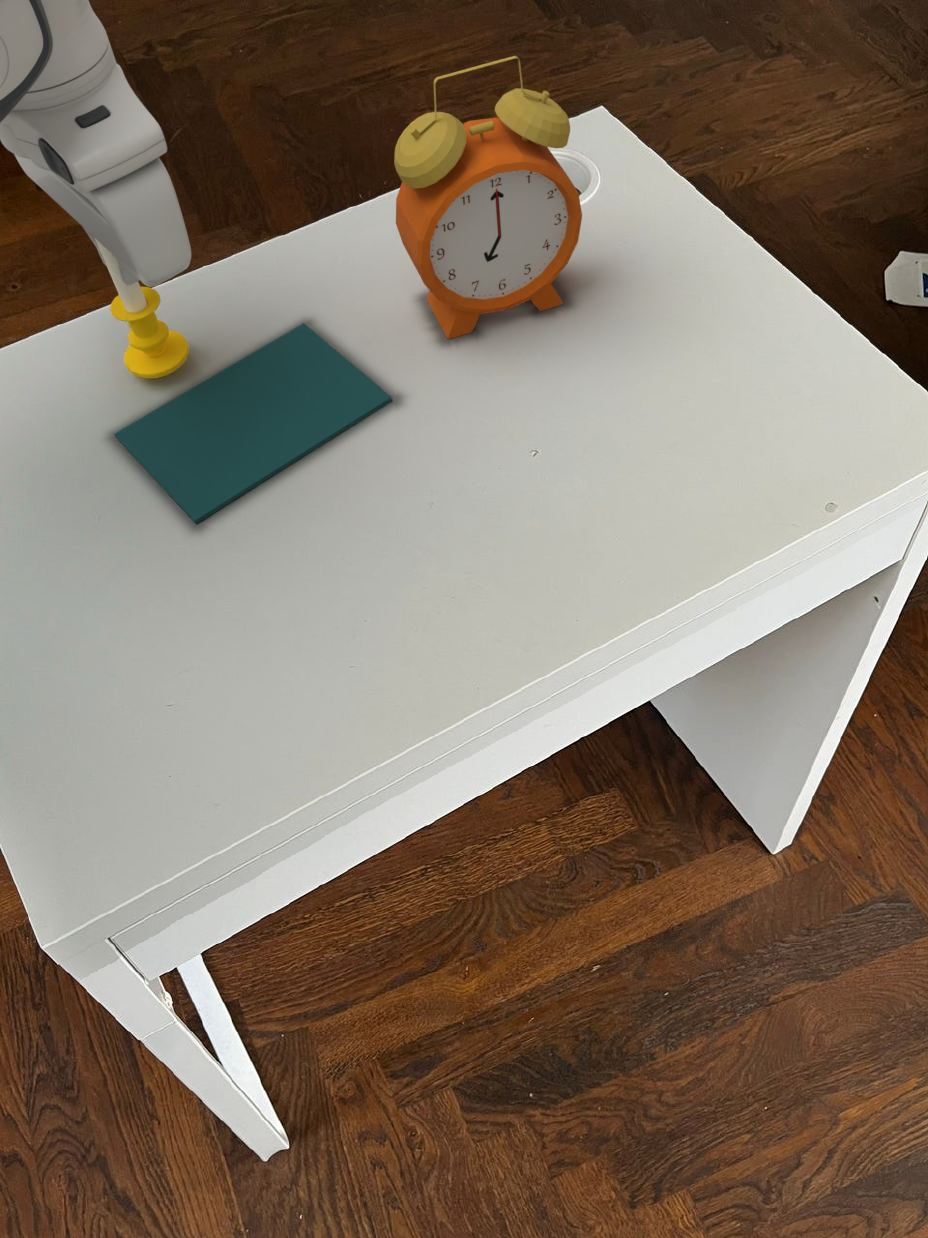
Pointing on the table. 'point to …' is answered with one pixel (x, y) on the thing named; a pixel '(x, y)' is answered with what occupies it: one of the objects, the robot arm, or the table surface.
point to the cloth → (251, 421)
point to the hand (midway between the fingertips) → (125, 271)
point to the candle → (145, 328)
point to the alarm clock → (487, 206)
